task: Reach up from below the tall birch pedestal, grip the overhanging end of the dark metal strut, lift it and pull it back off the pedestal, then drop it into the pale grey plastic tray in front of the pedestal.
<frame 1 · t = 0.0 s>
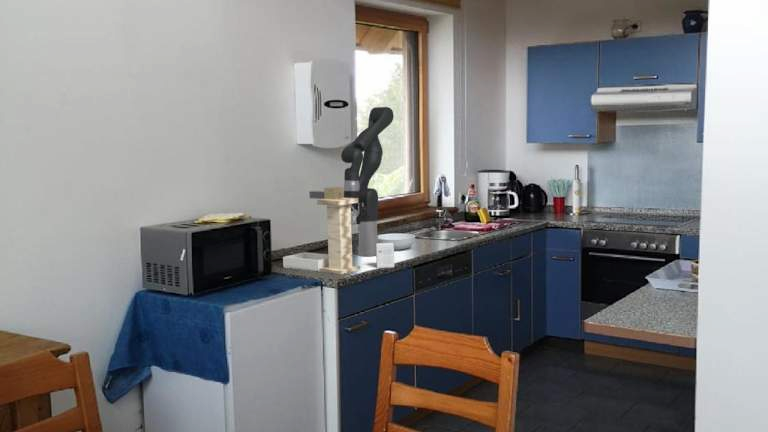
hand: (351, 223, 378), 17 cm above the countertop, tool pointing down, fingers open, 8 cm apart
grey tray: (311, 267, 362), on the countertop
small box: (385, 267, 358), on the countertop
birch pedestal: (339, 270, 351), on the countertop
serving bowl: (395, 249, 408), on the countertop
strut: (325, 198, 351), point 32 cm above the countertop, touching birch pedestal
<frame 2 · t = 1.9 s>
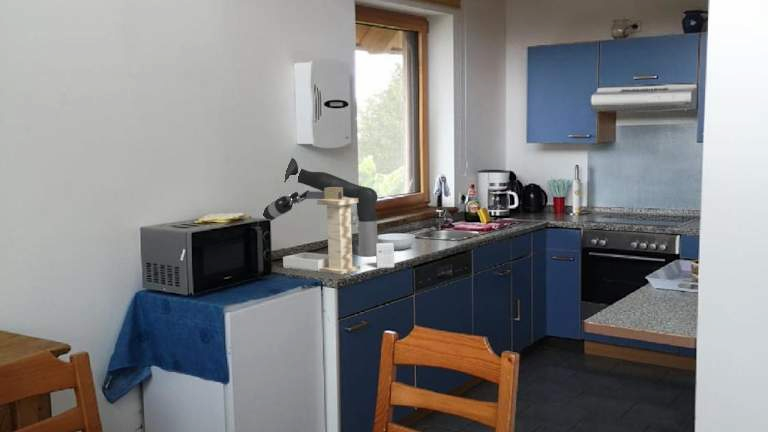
hand: (303, 192, 365), 34 cm above the countertop, tool pointing upward, fingers open, 8 cm apart
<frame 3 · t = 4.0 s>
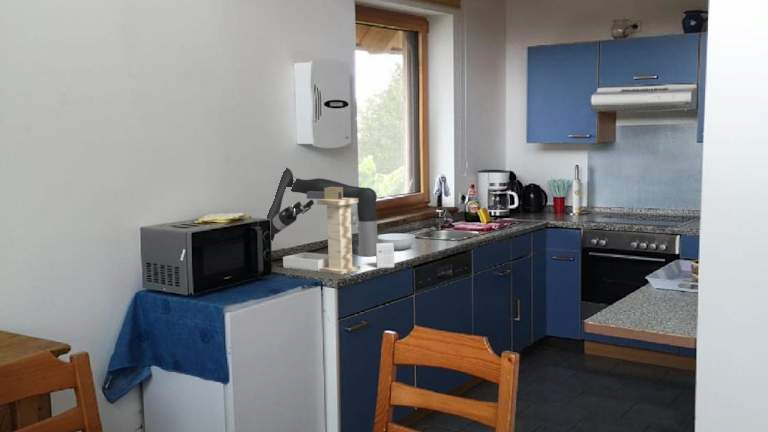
hand: (306, 202, 358), 30 cm above the countertop, tool pointing upward, fingers open, 8 cm apart
nothing on the countertop moved.
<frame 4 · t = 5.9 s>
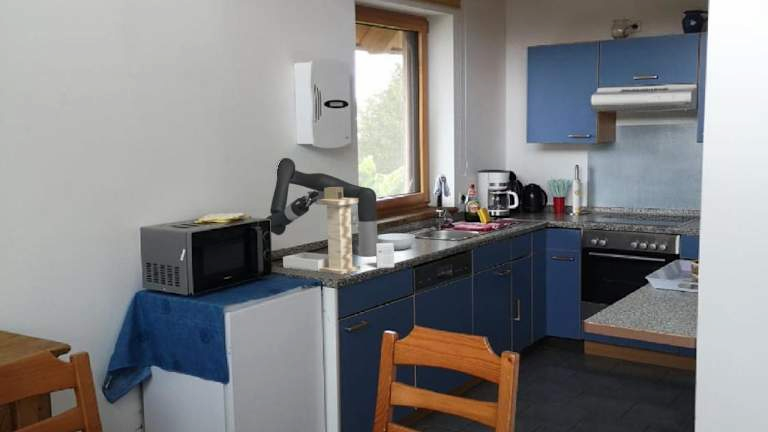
hand: (320, 192, 352), 35 cm above the countertop, tool pointing upward, fingers open, 5 cm apart
strut: (324, 198, 351), point 32 cm above the countertop, touching birch pedestal, gripper
everything else where it was.
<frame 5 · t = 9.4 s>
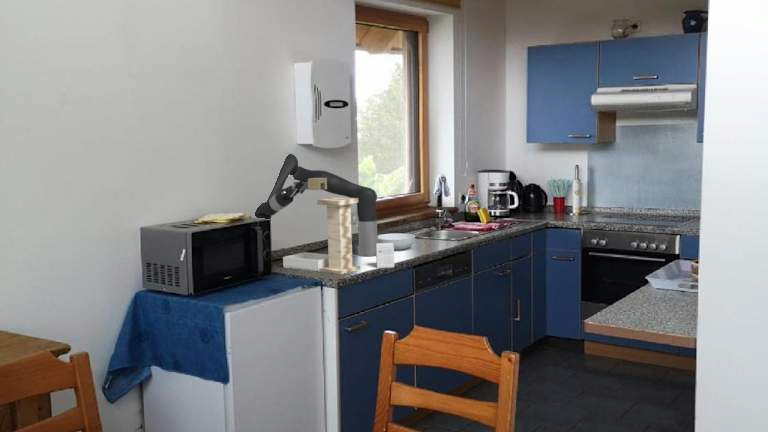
hand: (304, 182, 357), 39 cm above the countertop, tool pointing upward, fingers closed on strut, 3 cm apart
strut: (309, 189, 356), point 36 cm above the countertop, touching gripper
everything else where it was.
when the fingers open (26 cm above the countertop, at t = 12.3 s): strut drops 22 cm, resting on grey tray.
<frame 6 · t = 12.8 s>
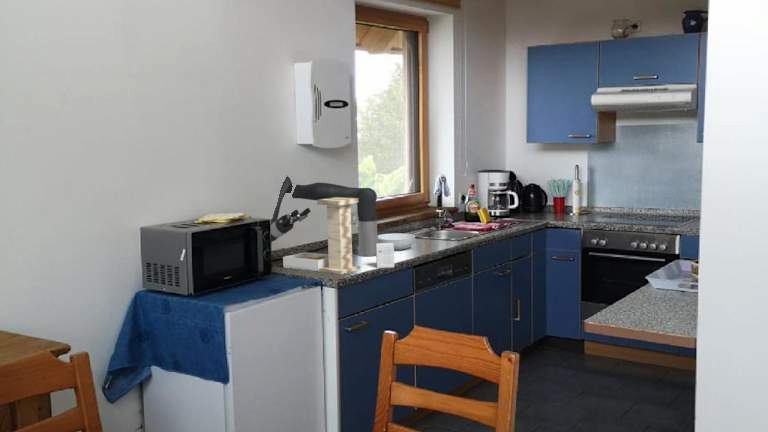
hand: (303, 210, 359), 26 cm above the countertop, tool pointing upward, fingers open, 7 cm apart
strut: (308, 265, 361), point 1 cm above the countertop, touching grey tray
everything else where it was.
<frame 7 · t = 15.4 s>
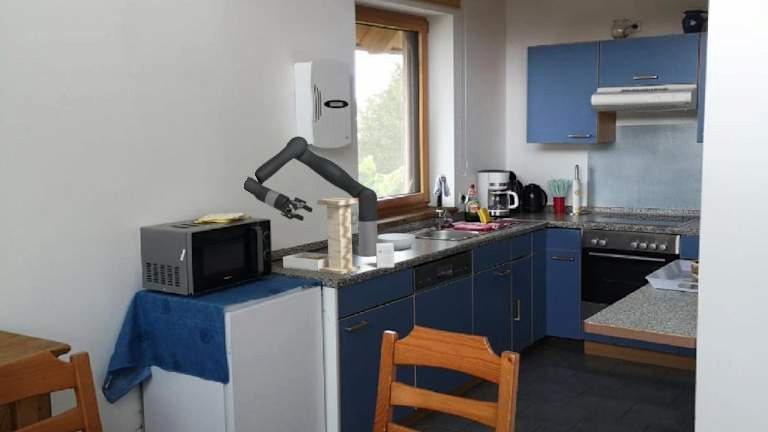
hand: (307, 214, 362), 24 cm above the countertop, tool tilted 65°, fingers open, 8 cm apart
nothing on the countertop moved.
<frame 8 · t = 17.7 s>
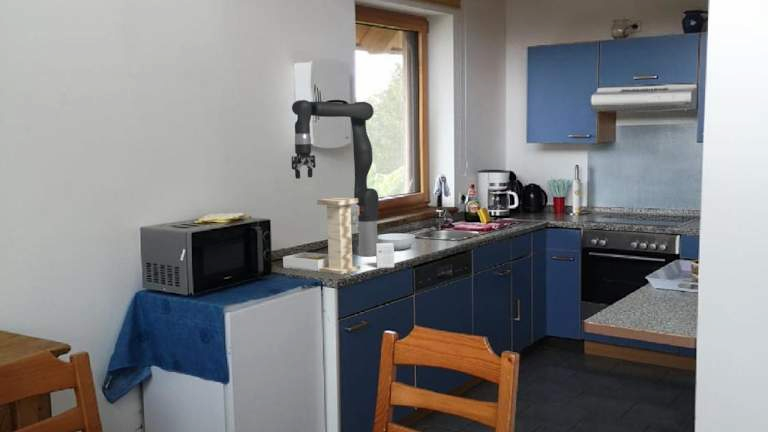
hand: (304, 177, 370), 40 cm above the countertop, tool pointing down, fingers open, 8 cm apart
nothing on the countertop moved.
at the end: strut inside the target area (1.2 cm from its centre), point 1.0 cm above the countertop; strut touching grey tray; the gripper is holding nothing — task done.
